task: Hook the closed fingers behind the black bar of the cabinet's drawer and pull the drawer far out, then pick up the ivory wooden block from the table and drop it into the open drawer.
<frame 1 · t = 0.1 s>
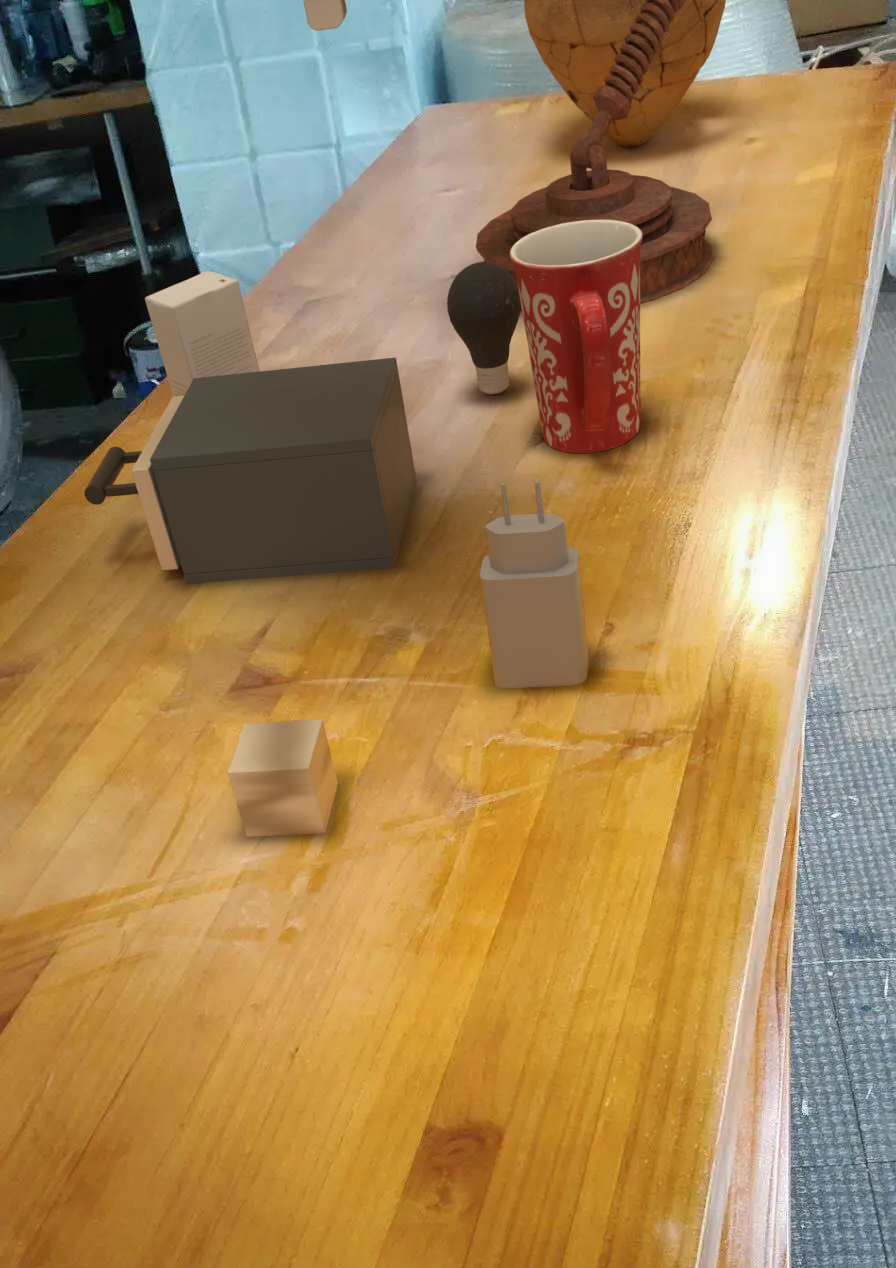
hand: (343, 4, 76), 32 cm above the table, tool pointing down, fingers open, 8 cm apart
cabinet: (305, 531, 104), on the table
cosmetic box: (231, 444, 117), on the table
drawer: (225, 476, 101), point 5 cm above the table, slide at 0.5 cm
block: (293, 810, 80), on the table
desk lamp: (582, 278, 132), on the table
power adapter: (542, 675, 87), on the table
light bulb: (495, 397, 116), on the table
mug: (592, 445, 108), on the table
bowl: (632, 147, 158), on the table
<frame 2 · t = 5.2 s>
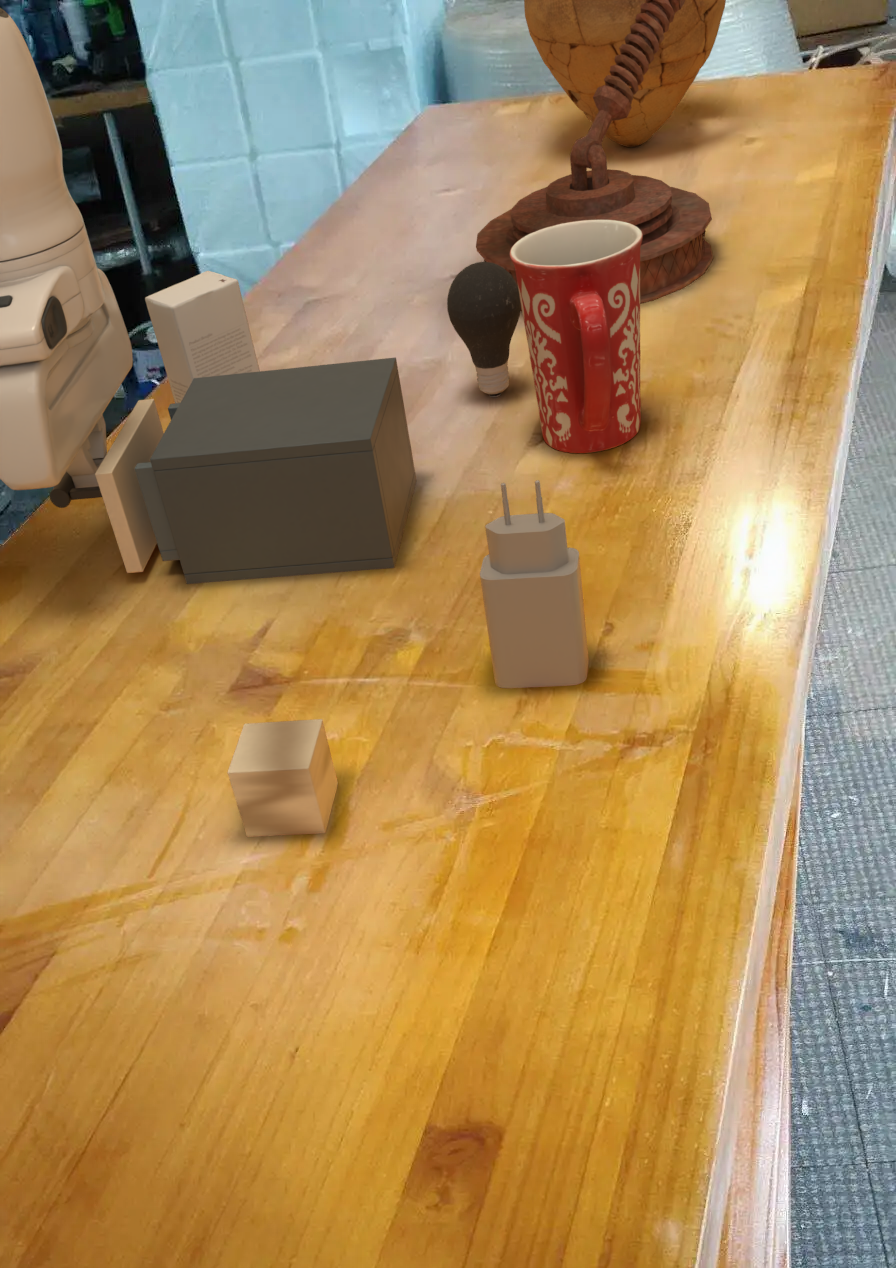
hand: (96, 488, 103), 5 cm above the table, tool pointing down, fingers closed, pressing on drawer
drawer: (191, 480, 102), point 5 cm above the table, slide at 3.0 cm, touching gripper
everything else where it was.
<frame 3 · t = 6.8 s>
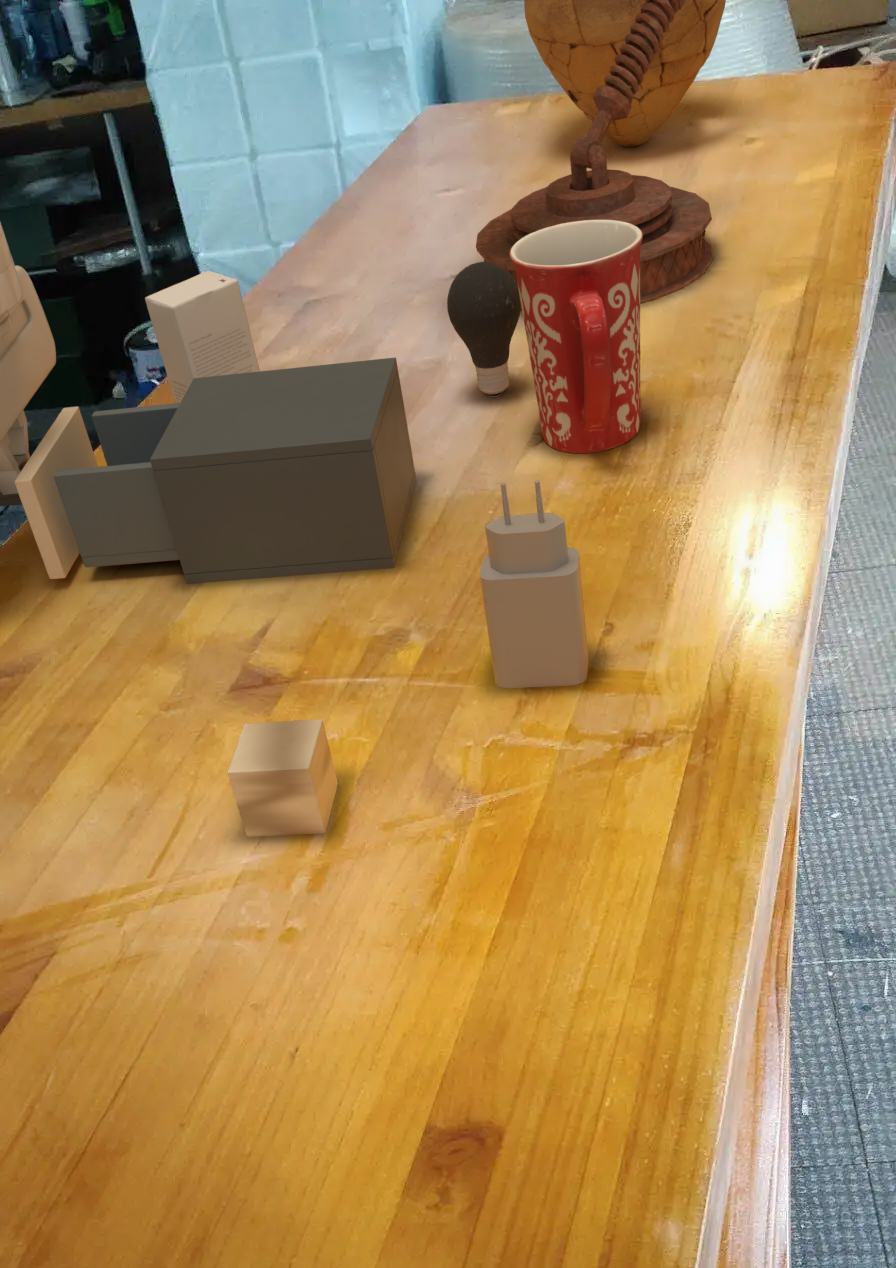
hand: (18, 485, 104), 5 cm above the table, tool pointing down, fingers closed
drawer: (113, 487, 103), point 5 cm above the table, slide at 8.7 cm
everything else where it was.
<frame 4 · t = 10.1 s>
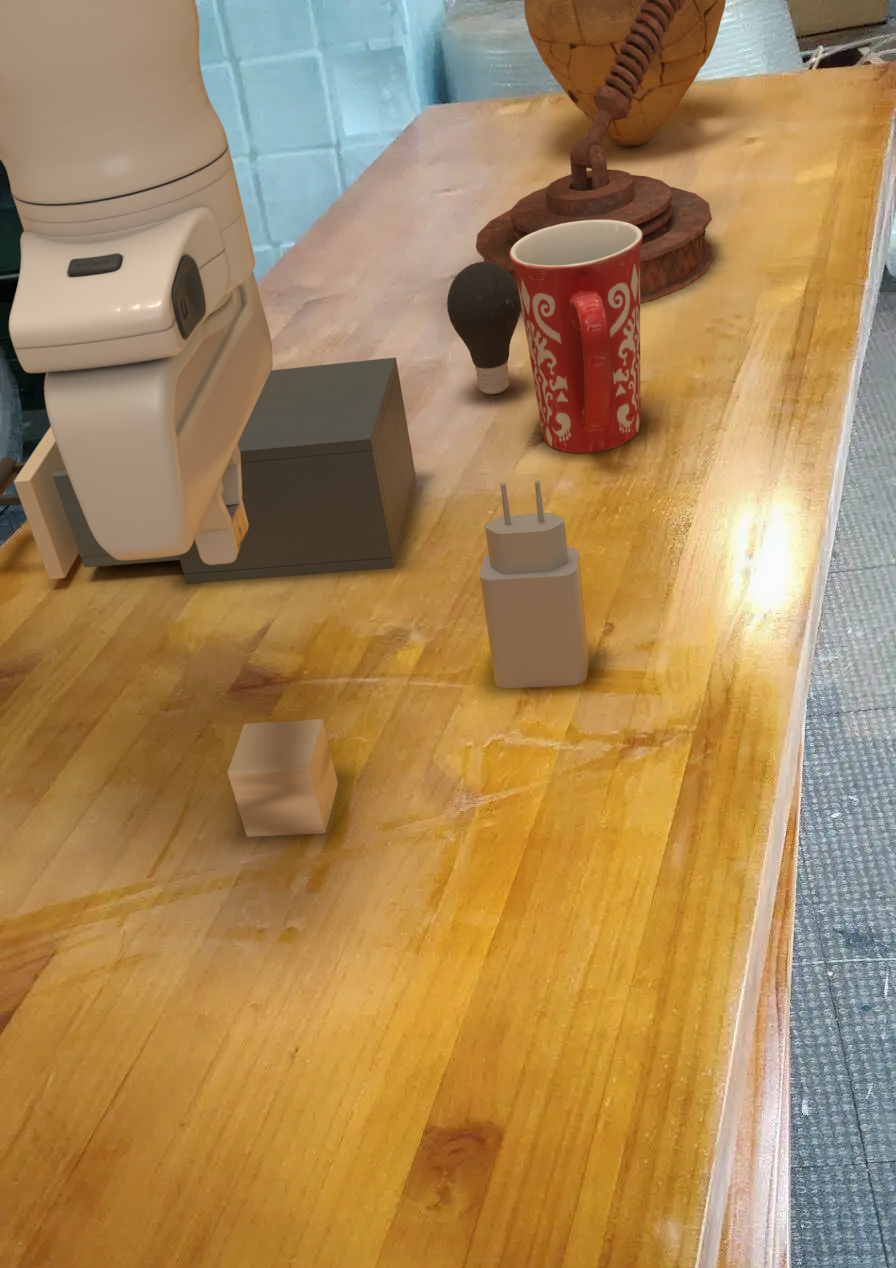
hand: (227, 549, 70), 16 cm above the table, tool pointing down, fingers closed
nothing on the table moved.
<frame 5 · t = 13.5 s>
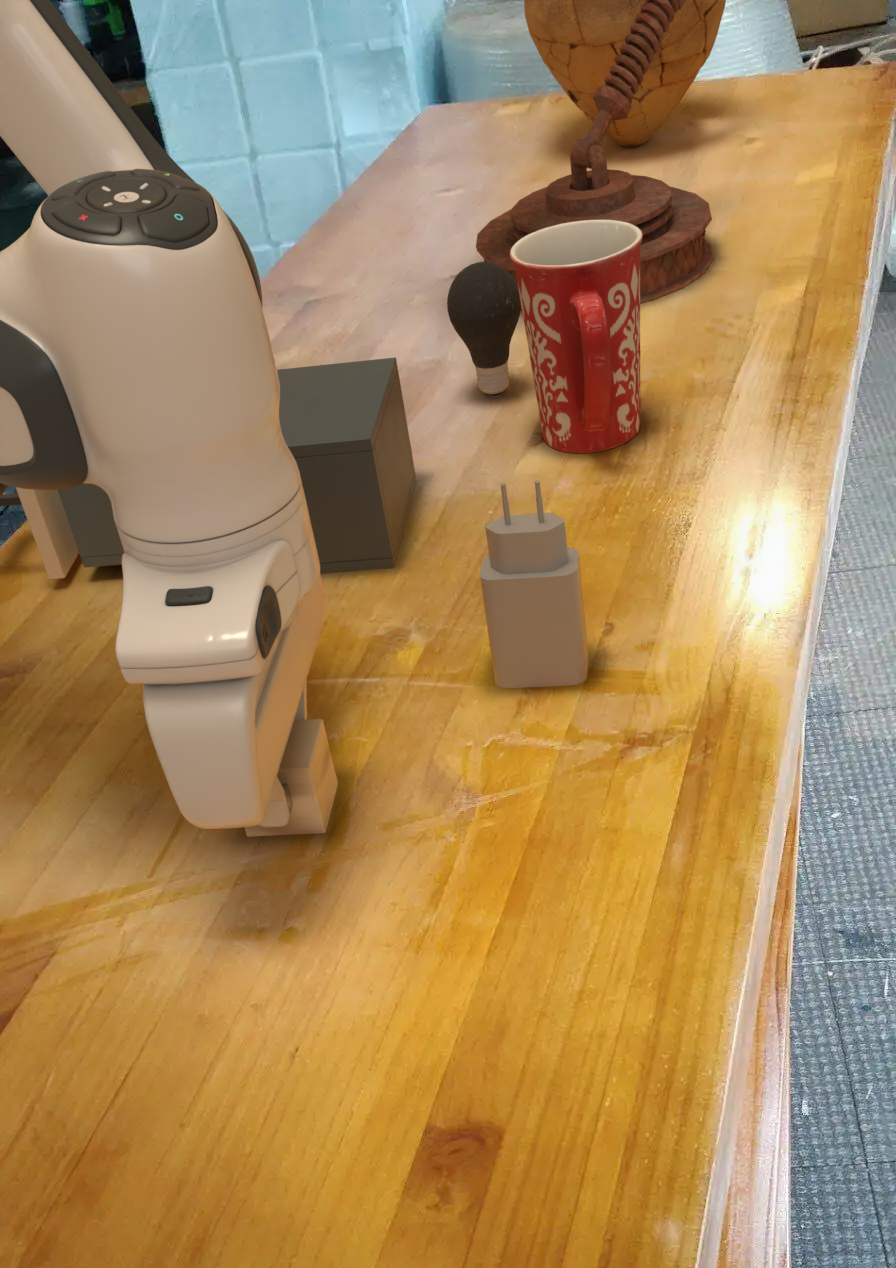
hand: (286, 785, 79), 2 cm above the table, tool pointing down, fingers closed on block, 4 cm apart
block: (293, 810, 80), on the table, touching gripper
everything else where it was.
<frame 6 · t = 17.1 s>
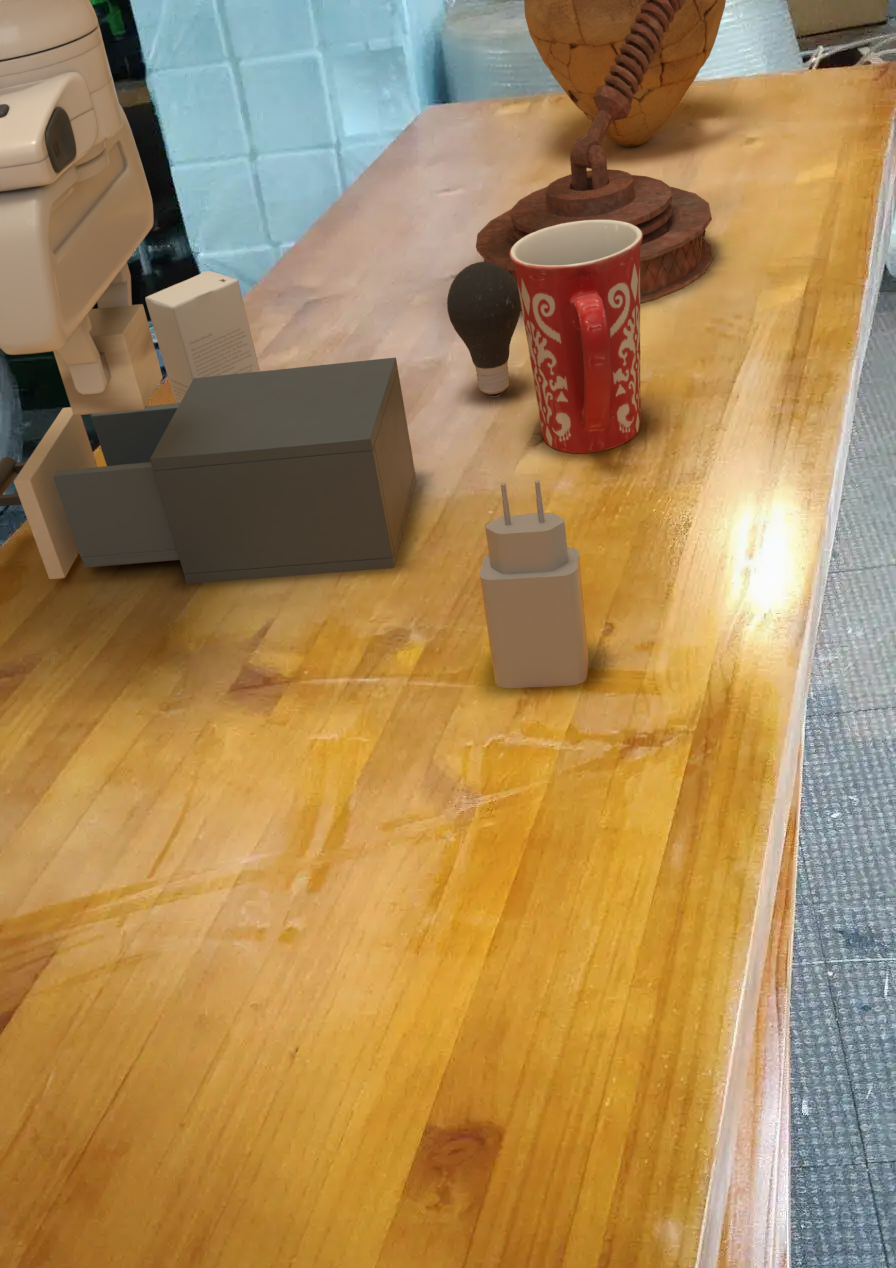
hand: (109, 368, 86), 17 cm above the table, tool pointing down, fingers closed on block, 4 cm apart
block: (118, 396, 87), point 15 cm above the table, touching gripper
everything else where it was.
when the fingers open (8 cm above the table, at t = 20.9 s): block drops 4 cm, resting on drawer.
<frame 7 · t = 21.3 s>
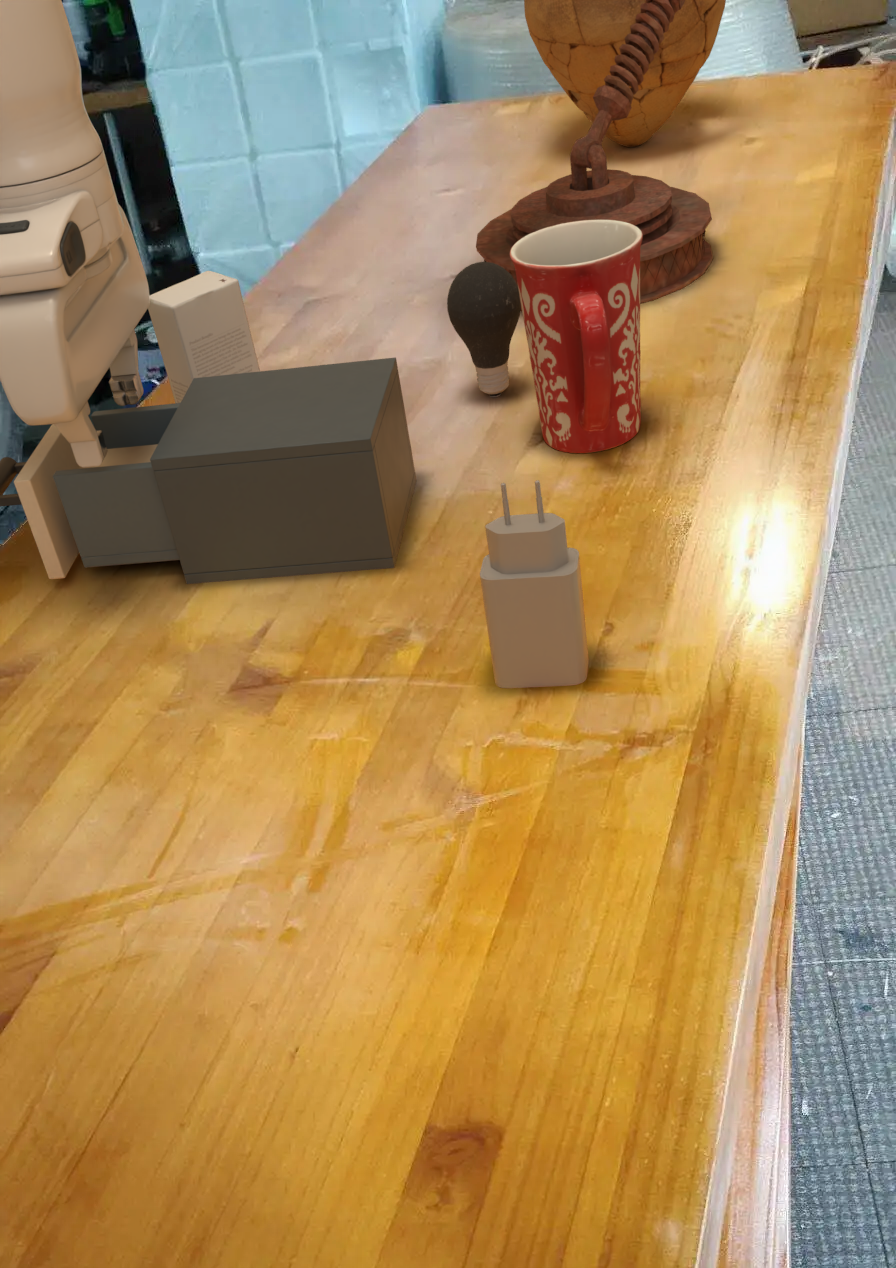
hand: (112, 430, 100), 9 cm above the table, tool pointing down, fingers open, 8 cm apart
drawer: (113, 487, 103), point 5 cm above the table, slide at 8.8 cm, touching block
block: (142, 519, 104), point 2 cm above the table, touching drawer
everything else where it was.
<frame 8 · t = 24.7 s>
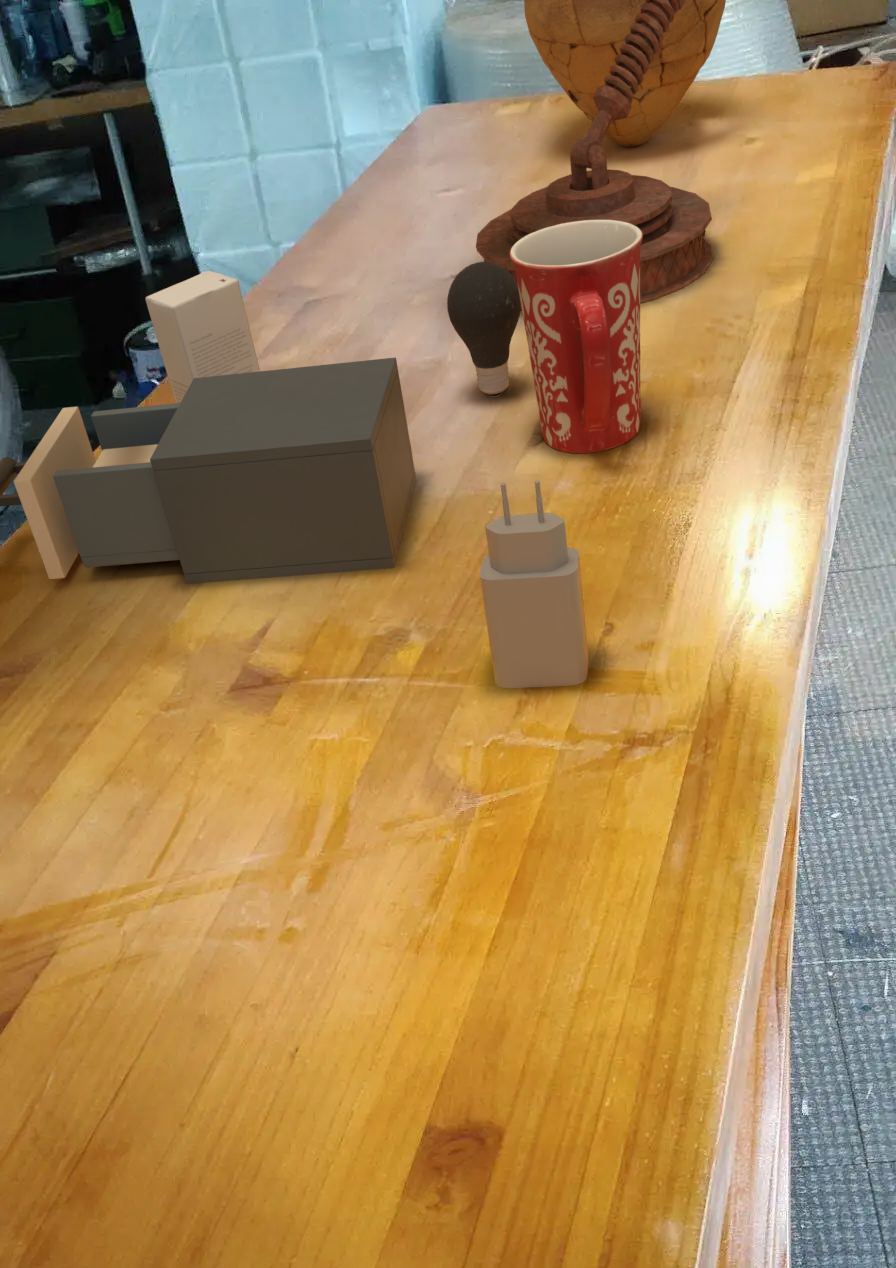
nothing on the table moved.
at the end: drawer slide at 8.8 cm; block inside the target area in the drawer (6.1 cm from its centre), point 2.0 cm above the cabinet's base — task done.
